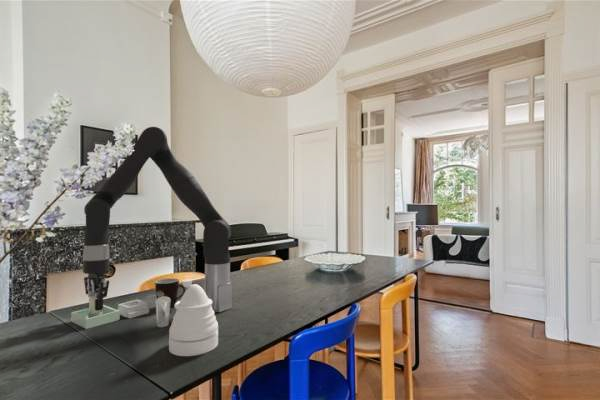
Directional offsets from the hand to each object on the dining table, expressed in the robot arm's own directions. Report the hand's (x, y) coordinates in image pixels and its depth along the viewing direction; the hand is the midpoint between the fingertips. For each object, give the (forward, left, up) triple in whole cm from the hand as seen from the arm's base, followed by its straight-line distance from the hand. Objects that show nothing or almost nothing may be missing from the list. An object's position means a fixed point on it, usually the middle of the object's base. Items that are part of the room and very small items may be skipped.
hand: (95, 308), depth 106 cm
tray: (0, 0, -4) cm, 4 cm away
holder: (-3, -11, -4) cm, 12 cm away
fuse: (0, 0, -3) cm, 3 cm away
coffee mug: (-8, -22, -4) cm, 24 cm away
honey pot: (-44, -7, -4) cm, 45 cm away
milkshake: (-23, -10, -4) cm, 25 cm away
